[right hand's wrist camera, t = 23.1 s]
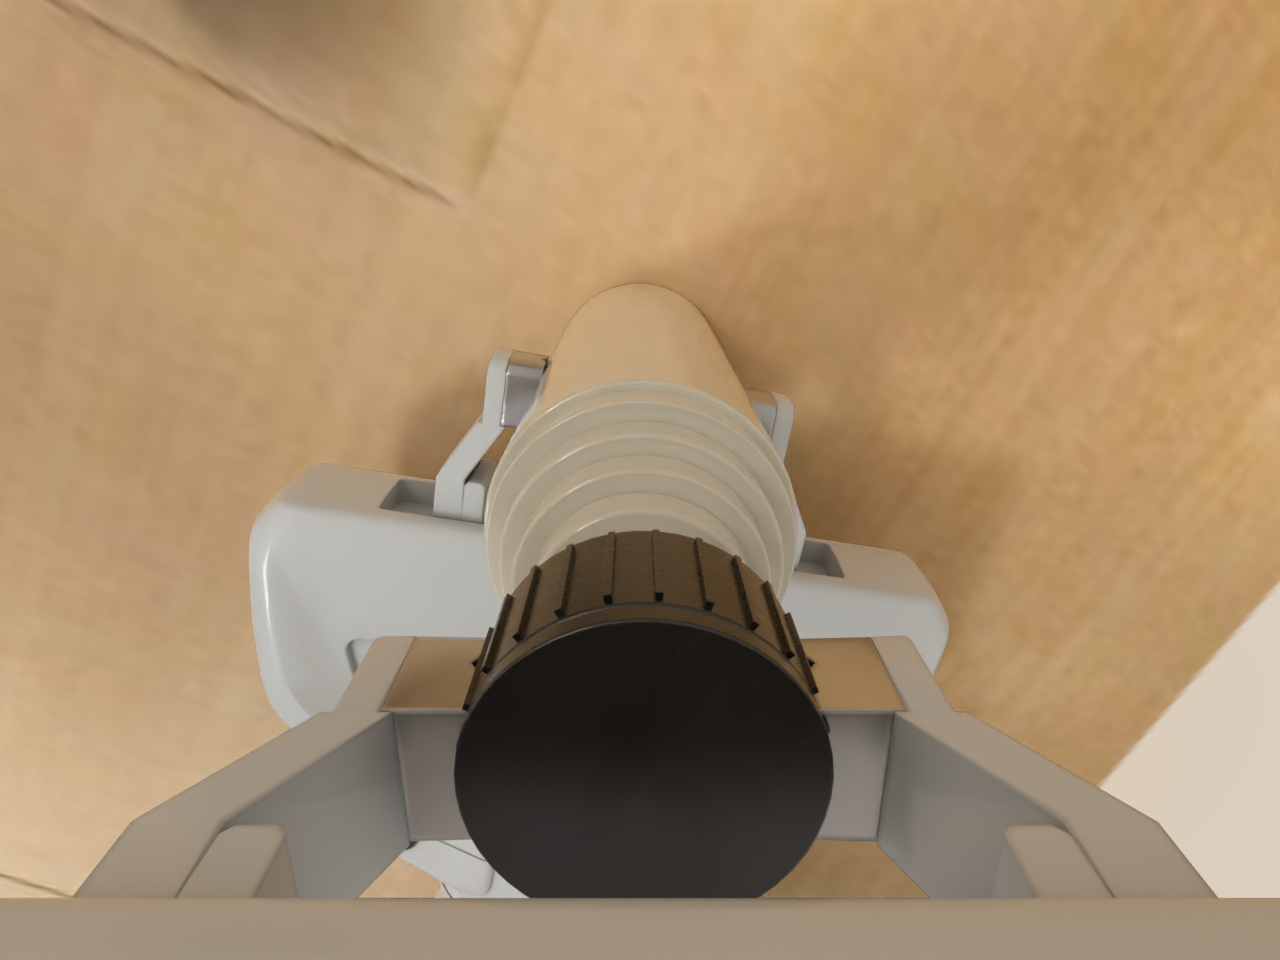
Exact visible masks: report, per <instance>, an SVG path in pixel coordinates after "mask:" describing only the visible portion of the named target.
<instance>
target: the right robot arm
mask: <svg viewBox="0 0 1280 960" xmlns="http://www.w3.org/2000/svg"><path fill="white" fill-rule="evenodd" d="M485 639H486V638H477V637H427V636H420V637H417V636H381V637H378V638H376V639H375V640H374V641H373V642H372V644H371V646H370V647H369V649H368V651H367V653H366V654H365V656H364V658H363V660H362V661H361V663H360V665H359V667H358V668H357V670H356V672H355V674H354V675H353V677H352V679H351V680H350V682H349V684H348V686H347V687H346V689H345V691H344V693H343V694H342V696H341V698H340V700H339V701H338V703H337V705H336V707H335V708H334V710H333V712H320V713H318V714H316V715H314V716H313V717H311V718H309V719H307V720H306V721H304V722H302V723H301V724H299V725H297V726H295V727H294V728H292V729H290V730H288V731H287V732H285V733H283V734H281V735H280V736H278V737H276V738H275V739H273V740H271V741H269V742H268V743H266V744H264V745H262V746H261V747H259V748H257V749H256V750H254V751H252V752H250V753H249V754H247V755H245V756H243V757H242V758H240V759H238V760H237V761H235V762H233V763H231V764H230V765H228V766H226V767H224V768H223V769H221V770H219V771H217V772H216V773H214V774H212V775H211V776H209V777H207V778H205V779H204V780H202V781H200V782H198V783H197V784H195V785H193V786H192V787H190V788H188V789H186V790H185V791H183V792H181V793H179V794H178V795H176V796H174V797H173V798H171V799H169V800H167V801H166V802H164V803H162V804H160V805H159V806H157V807H155V808H154V809H152V810H150V811H148V812H147V813H145V814H143V815H141V816H140V817H138V818H136V819H134V820H133V821H131V823H130V824H129V825H128V827H127V828H126V829H125V830H124V832H123V833H122V834H121V835H120V837H119V838H118V839H117V841H116V842H115V843H114V844H113V846H112V847H111V848H110V850H109V851H108V852H107V853H106V855H105V856H104V857H103V858H102V860H101V861H100V862H99V864H98V865H97V866H96V867H95V869H94V870H93V871H92V872H91V874H90V875H89V876H88V878H87V879H86V880H85V881H84V883H83V884H82V885H81V886H80V888H79V889H78V890H77V892H76V893H75V894H74V895H73V897H72V898H0V960H1280V898H1218V897H1217V896H1216V895H1215V893H1214V892H1213V891H1212V890H1211V888H1210V887H1209V886H1208V885H1207V883H1206V882H1205V881H1204V880H1203V878H1202V877H1201V876H1200V874H1199V873H1198V872H1197V871H1196V869H1195V868H1194V867H1193V866H1192V864H1191V863H1190V862H1189V861H1188V859H1187V858H1186V857H1185V856H1184V854H1183V853H1182V852H1181V850H1180V849H1179V848H1178V847H1177V845H1176V844H1175V843H1174V842H1173V840H1172V839H1171V838H1170V837H1169V835H1168V834H1167V833H1166V832H1165V830H1164V829H1163V828H1162V826H1161V825H1160V824H1159V823H1158V822H1157V821H1155V820H1153V819H1152V818H1150V817H1148V816H1146V815H1145V814H1143V813H1141V812H1139V811H1138V810H1136V809H1134V808H1132V807H1131V806H1129V805H1127V804H1126V803H1124V802H1122V801H1120V800H1119V799H1117V798H1115V797H1113V796H1112V795H1110V794H1108V793H1106V792H1105V791H1103V790H1101V789H1100V788H1098V787H1096V786H1094V785H1093V784H1091V783H1089V782H1087V781H1086V780H1084V779H1082V778H1080V777H1079V776H1077V775H1075V774H1073V773H1072V772H1070V771H1068V770H1066V769H1065V768H1063V767H1061V766H1060V765H1058V764H1056V763H1054V762H1053V761H1051V760H1049V759H1047V758H1046V757H1044V756H1042V755H1040V754H1039V753H1037V752H1035V751H1033V750H1032V749H1030V748H1028V747H1027V746H1025V745H1023V744H1021V743H1020V742H1018V741H1016V740H1014V739H1013V738H1011V737H1009V736H1007V735H1006V734H1004V733H1002V732H1000V731H999V730H997V729H995V728H993V727H992V726H990V725H988V724H987V723H985V722H983V721H981V720H980V719H978V718H976V717H974V716H973V715H971V714H969V713H967V712H954V710H953V709H952V707H951V705H950V704H949V702H948V700H947V699H946V697H945V695H944V694H943V692H942V690H941V689H940V687H939V685H938V683H937V682H936V680H935V678H934V677H933V675H932V673H931V672H930V670H929V668H928V667H927V665H926V663H925V662H924V660H923V658H922V656H921V655H920V653H919V651H918V650H917V648H916V646H915V645H914V643H913V641H912V640H911V639H910V638H909V637H907V636H879V637H850V638H810V639H800V640H801V643H802V645H803V648H804V651H805V654H806V656H807V659H808V662H809V665H810V667H811V670H812V673H813V676H814V678H815V681H816V684H817V687H818V690H819V693H817V694H814V695H815V698H816V701H817V704H818V706H819V709H820V712H821V715H822V718H825V717H826V718H827V721H828V724H829V726H830V733H828V735H829V739H830V744H831V749H832V753H833V766H834V781H833V790H832V797H831V801H830V804H829V808H828V812H827V815H826V818H825V821H824V823H823V825H822V827H821V830H820V832H819V834H818V836H817V838H816V839H815V840H848V841H877V845H878V846H879V847H880V848H881V849H882V850H883V851H884V852H885V853H886V854H887V855H888V856H889V857H890V858H891V859H892V860H893V861H894V862H895V863H896V864H897V865H898V866H899V867H900V868H901V869H902V870H903V871H904V872H905V873H906V874H907V875H908V876H909V877H910V878H911V879H912V880H913V881H914V882H915V883H916V884H917V885H918V886H919V887H920V888H921V889H922V890H923V891H924V892H925V893H926V894H927V895H928V896H929V897H930V898H358V897H359V896H360V895H361V894H362V893H363V892H364V891H365V890H366V889H367V888H368V887H369V886H370V885H371V884H372V883H373V882H374V881H375V880H376V879H377V877H378V876H379V875H380V874H381V873H382V872H383V871H384V870H385V869H386V868H387V867H388V866H389V865H390V864H391V863H392V862H393V861H394V860H395V859H396V858H397V857H398V856H399V855H400V854H401V853H402V852H403V851H404V850H405V849H406V848H407V847H408V846H409V841H438V840H472V839H471V837H470V836H469V834H468V832H467V829H466V827H465V825H464V822H463V820H462V817H461V815H460V811H459V807H458V803H457V799H456V795H455V784H454V763H455V752H456V743H457V740H458V737H459V734H460V732H461V729H462V726H463V723H464V720H465V717H466V714H467V711H465V710H462V707H463V704H464V701H465V698H466V695H467V692H468V689H469V686H470V683H471V680H472V677H473V674H474V671H475V668H476V665H477V662H478V659H479V656H480V653H481V650H482V647H483V645H484V642H485Z"/></svg>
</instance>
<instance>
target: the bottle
mask: <svg viewBox="0 0 1280 960" xmlns="http://www.w3.org/2000/svg"><path fill="white" fill-rule="evenodd" d="M797 521H798V515H797V508H796V500H795V495H794V491H793V487H792V484H791V480H790V477H789V475H788V473H787V470H786V468H785V466H784V464H783V461H782V459H781V457H780V456H779V454H778V452H777V450H776V448H775V446H774V444H773V443H772V441H771V439H770V437H769V435H768V433H767V431H766V430H765V428H764V426H763V424H762V422H761V420H760V418H759V416H758V415H757V413H756V411H755V409H754V407H753V405H752V403H751V402H750V400H749V398H748V396H747V394H746V392H745V390H744V389H743V387H742V385H741V383H740V381H739V379H738V377H737V376H736V374H735V372H734V370H733V368H732V366H731V364H730V362H729V361H728V359H727V357H726V355H725V353H724V351H723V349H722V348H721V346H720V344H719V342H718V340H717V338H716V336H715V335H714V333H713V331H712V329H711V327H710V325H709V324H708V322H707V321H706V319H705V317H704V316H703V315H702V314H701V312H700V311H699V310H698V309H697V308H696V307H695V306H694V305H693V304H692V303H691V302H690V301H688V300H687V299H685V298H684V297H683V296H681V295H679V294H677V293H675V292H673V291H672V290H669V289H666V288H663V287H660V286H655V285H651V284H628V285H622V286H618V287H615V288H612V289H609V290H606V291H604V292H602V293H600V294H598V295H597V296H595V297H594V298H592V299H591V300H589V301H588V302H587V303H586V304H585V305H584V306H583V307H581V309H580V310H579V311H578V312H577V313H576V314H575V316H574V317H573V319H572V320H571V322H570V323H569V325H568V327H567V329H566V331H565V333H564V335H563V337H562V339H561V341H560V343H559V344H558V346H557V348H556V350H555V352H554V354H553V356H552V358H551V360H550V362H549V364H548V366H547V368H546V370H545V372H544V374H543V376H542V378H541V380H540V382H539V384H538V386H537V388H536V390H535V392H534V394H533V396H532V398H531V400H530V402H529V404H528V406H527V408H526V410H525V412H524V414H523V416H522V418H521V420H520V422H519V424H518V426H517V428H516V430H515V432H514V434H513V436H512V437H511V439H510V441H509V443H508V445H507V447H506V449H505V451H504V453H503V455H502V457H501V459H500V461H499V464H498V466H497V468H496V470H495V472H494V474H493V477H492V480H491V483H490V487H489V490H488V493H487V499H486V505H485V511H484V535H485V543H486V557H487V565H488V570H489V574H490V577H491V581H492V585H493V587H494V590H495V592H496V594H497V597H498V599H499V601H500V603H501V605H502V603H503V600H504V597H505V596H506V595H507V593H508V594H510V595H511V594H512V593H513V592H514V591H515V589H516V588H517V587H518V586H519V584H520V583H521V582H522V581H523V580H524V579H525V578H526V577H527V576H528V575H529V574H530V570H531V568H532V567H533V566H534V565H537V566H539V565H541V564H542V563H543V562H545V561H546V560H548V559H549V558H551V557H552V556H553V555H555V554H557V553H559V552H561V551H563V550H565V549H566V546H567V545H569V544H572V543H573V545H575V544H578V543H580V542H583V541H586V540H588V539H591V538H595V537H599V536H603V535H607V534H608V532H613V531H615V533H619V532H628V531H652V530H653V529H656V530H660V532H667V533H674V534H679V535H683V536H687V537H691V538H696V537H698V538H701V539H703V542H706V543H708V544H711V545H713V546H716V547H718V548H720V549H722V550H723V551H725V552H727V553H729V554H731V555H732V556H735V555H737V556H739V557H741V560H742V563H744V564H745V565H747V566H748V567H749V568H751V569H752V570H753V571H754V572H755V573H756V574H757V575H758V576H759V577H760V578H761V579H762V580H763V581H764V582H766V581H767V580H768V581H769V582H770V583H771V585H772V588H773V591H774V594H775V596H776V598H777V599H778V601H779V603H780V605H781V602H782V600H783V598H784V596H785V594H786V592H787V590H788V587H789V583H790V580H791V577H792V574H793V570H794V564H795V557H796V540H797Z"/></svg>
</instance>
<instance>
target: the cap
mask: <svg viewBox="0 0 1280 960" xmlns="http://www.w3.org/2000/svg"><path fill="white" fill-rule="evenodd" d="M817 693H819V690H818V687H817V684H816V681H815V678H814V676H813V673H812V670H811V667H810V665H809V662H808V659H807V656H806V654H805V651H804V648H803V645H802V643H801V640H800V637H799V634H798V632H797V629H796V626H795V623H794V621H793V618H792V616H791V613H790V612H789V613H786V614H785V612H784V610H783V608H782V606H781V605H780V603H779V601H778V599H777V598H776V596H775V594H774V591H773V588H772V585H771V583H770V582H769V581H768V580H767V581H766V582H764V581H763V580H762V579H761V578H760V577H759V576H758V575H757V574H756V573H755V572H754V571H753V570H752V569H751V568H749V567H748V566H747V565H745V564H744V563H742V560H741V557H739V556H737V555H735V556H732V555H731V554H729V553H727V552H725V551H723V550H722V549H720V548H718V547H716V546H713V545H711V544H708V543H706V542H703V539H701V538H698V537H696V538H691V537H687V536H683V535H679V534H674V533H667V532H660V530H656V529H653V530H652V531H628V532H619V533H615V531H613V532H608V534H607V535H603V536H599V537H595V538H591V539H588V540H586V541H583V542H580V543H578V544H575V545H573V543H572V544H569V545H567V546H566V549H565V550H563V551H561V552H559V553H557V554H555V555H553V556H552V557H551V558H549V559H548V560H546V561H545V562H543V563H542V564H541V565H539V566H537V565H534V566H533V567H532V568H531V570H530V574H529V575H528V576H527V577H526V578H525V579H524V580H523V581H522V582H521V583H520V584H519V586H518V587H517V588H516V589H515V591H514V592H513V593H512V594H511V595H510V594H508V593H507V595H506V596H505V597H504V600H503V603H502V606H501V609H500V612H499V615H498V618H497V622H496V625H495V628H492V627H489V630H488V633H487V636H486V639H485V642H484V645H483V647H482V650H481V653H480V656H479V659H478V662H477V665H476V668H475V671H474V674H473V677H472V680H471V683H470V686H469V689H468V692H467V695H466V698H465V701H464V704H463V707H462V710H465V711H467V714H466V717H465V720H464V723H463V726H462V729H461V732H460V734H459V737H458V740H457V743H456V752H455V763H454V784H455V795H456V799H457V803H458V807H459V811H460V815H461V817H462V820H463V822H464V825H465V827H466V829H467V832H468V834H469V836H470V837H471V839H472V841H473V843H474V844H475V846H476V848H477V849H478V851H479V852H480V854H481V855H482V856H483V857H484V858H485V860H486V861H487V862H488V863H489V865H490V866H491V867H492V868H493V869H494V870H495V871H496V872H497V873H498V874H499V875H500V876H501V877H502V878H503V879H504V880H505V881H506V882H507V883H509V884H510V885H511V886H513V887H514V888H515V889H517V890H518V891H520V892H521V893H522V894H524V895H525V896H527V897H528V898H758V897H760V896H761V895H763V894H764V893H765V892H767V891H768V890H770V889H771V888H772V887H774V886H775V885H777V884H778V883H779V882H780V881H781V880H782V879H783V878H784V877H786V876H787V875H788V874H789V873H790V872H791V871H792V870H793V869H794V868H795V867H796V865H797V864H798V863H799V862H800V861H801V860H802V858H803V857H804V856H805V855H806V854H807V852H808V850H809V849H810V847H811V846H812V844H813V843H814V841H815V839H816V838H817V836H818V834H819V832H820V830H821V827H822V825H823V823H824V821H825V818H826V815H827V812H828V808H829V804H830V801H831V797H832V790H833V781H834V766H833V753H832V749H831V744H830V739H829V735H828V733H830V726H829V724H828V721H827V718H826V717H825V718H822V715H821V712H820V709H819V706H818V704H817V701H816V698H815V695H814V694H817Z"/></svg>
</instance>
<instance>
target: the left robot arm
mask: <svg viewBox="0 0 1280 960" xmlns="http://www.w3.org/2000/svg"><path fill="white" fill-rule="evenodd" d="M548 364H549V356H544V355H539V354H533V353H528V352H522V351H516V350H513V349H505V348H497V349H496V350H495V351H494V353H493V354H492V355H491V359H490V363H489V367H488V371H487V380H486V389H485V399H484V409H483V413H482V414H481V415H480V416H479V418H478V419H477V420H476V422H475V423H474V424H473V425H472V427H471V428H470V429H469V431H468V432H467V433H466V435H465V436H464V437H463V438H462V440H461V441H460V442H459V444H458V445H457V446H456V447H455V449H454V450H453V451H452V453H451V454H450V456H449V457H448V459H447V460H446V462H445V463H444V465H443V466H442V468H441V469H440V471H439V472H438V474H437V475H436V480H431V479H425V478H418V477H412V476H405V475H399V474H392V473H386V472H379V471H373V470H366V469H360V468H353V467H347V466H341V465H334V464H317V465H314V466H312V467H310V468H308V469H307V470H306V471H304V472H303V473H302V474H301V475H299V476H298V477H297V478H295V479H294V480H293V481H291V482H290V483H289V484H287V485H286V486H285V487H284V488H282V489H281V490H280V491H279V492H278V493H277V494H276V495H275V496H274V497H273V498H272V499H271V500H270V501H269V502H268V503H267V504H266V506H265V507H264V508H263V509H262V510H261V512H260V513H259V514H258V516H257V518H256V520H255V522H254V524H253V526H252V529H251V533H250V538H249V585H250V601H251V612H252V621H253V630H254V638H255V645H256V651H257V658H258V664H259V669H260V675H261V679H262V683H263V687H264V690H265V692H266V695H267V698H268V700H269V702H270V704H271V706H272V708H273V709H274V711H275V713H276V714H277V715H278V717H279V718H280V719H281V720H282V722H283V723H284V724H285V725H287V726H288V727H289V728H290V729H292V728H294V727H295V726H297V725H299V724H301V723H302V722H304V721H306V720H307V719H309V718H311V717H313V716H314V715H316V714H318V713H320V712H333V710H334V708H335V707H336V705H337V703H338V701H339V700H340V698H341V696H342V694H343V693H344V691H345V689H346V687H347V686H348V684H349V682H350V680H351V679H352V677H353V675H354V674H355V672H356V670H357V668H358V667H359V665H360V663H361V661H362V660H363V658H364V656H365V654H366V653H367V651H368V649H369V647H370V646H371V644H372V642H373V641H374V640H375V639H376V638H378V637H381V636H417V637H420V636H427V637H477V638H486V636H487V633H488V630H489V627H492V628H495V625H496V622H497V618H498V615H499V612H500V609H501V606H502V605H501V603H500V601H499V599H498V597H497V594H496V592H495V590H494V587H493V585H492V581H491V577H490V574H489V570H488V565H487V557H486V543H485V535H484V511H485V505H486V499H487V493H488V490H489V487H490V483H491V480H492V477H493V474H494V472H495V470H496V468H497V462H496V460H495V459H492V458H486V457H483V456H484V455H485V453H486V452H487V451H488V449H489V448H490V447H491V446H492V444H493V443H494V442H495V440H496V439H497V438H498V437H499V435H500V434H501V433H502V431H503V430H504V429H505V427H506V426H508V427H515V428H517V426H518V424H519V422H520V420H521V418H522V416H523V414H524V412H525V410H526V408H527V406H528V404H529V402H530V400H531V398H532V396H533V394H534V392H535V390H536V388H537V386H538V384H539V382H540V380H541V378H542V376H543V374H544V372H545V370H546V368H547V366H548ZM743 389H744V390H745V392H746V394H747V396H748V398H749V400H750V402H751V403H752V405H753V407H754V409H755V411H756V413H757V415H758V416H759V418H760V420H761V422H762V424H763V426H764V428H765V430H766V431H767V433H768V435H769V437H770V439H771V441H772V443H773V444H774V446H775V448H776V450H777V452H778V454H779V456H780V457H781V459H782V461H783V463H784V459H785V455H786V451H787V446H788V442H789V438H790V434H791V430H792V426H793V422H794V404H793V402H792V401H791V399H790V397H789V396H788V395H787V394H781V393H774V392H769V391H762V390H755V389H749V388H743ZM795 500H796V499H795ZM796 508H797V515H798V521H797V540H796V557H795V564H794V570H793V574H792V577H791V580H790V583H789V587H788V590H787V592H786V594H785V596H784V598H783V600H782V602H781V606H782V608H783V610H784V612H785V614H786V613H789V612H790V613H791V616H792V618H793V621H794V623H795V626H796V629H797V632H798V634H799V637H800V639H810V638H850V637H879V636H907V637H909V638H910V639H911V640H912V641H913V643H914V645H915V646H916V648H917V650H918V651H919V653H920V655H921V656H922V658H923V660H924V662H925V663H926V665H927V667H928V668H929V670H930V672H931V673H932V675H934V673H935V671H936V668H937V666H938V664H939V661H940V659H941V657H942V655H943V652H944V649H945V647H946V644H947V641H948V636H949V622H948V618H947V615H946V612H945V610H944V608H943V606H942V603H941V602H940V600H939V598H938V596H937V594H936V593H935V591H934V589H933V587H932V586H931V584H930V583H929V581H928V580H927V579H926V577H925V576H924V575H923V573H922V572H921V571H920V570H919V568H918V567H917V566H916V564H915V563H914V562H913V561H912V560H911V559H910V558H909V557H908V556H907V555H906V554H904V553H902V552H899V551H895V550H890V549H883V548H876V547H870V546H863V545H857V544H850V543H844V542H837V541H831V540H824V539H818V538H811V537H806V534H807V533H806V530H805V527H804V524H803V521H802V518H801V515H800V512H799V509H798V506H797V503H796ZM397 858H399V859H401V860H403V861H405V862H407V863H409V864H411V865H413V866H415V867H417V868H419V869H420V870H422V871H424V872H426V873H427V874H429V875H431V876H432V877H434V878H436V879H437V880H439V883H440V888H439V889H438V891H437V893H436V895H435V898H528V897H527V896H525V895H524V894H522V893H521V892H520V891H518V890H517V889H515V888H514V887H513V886H511V885H510V884H509V883H507V882H506V881H505V880H504V879H503V878H502V877H501V876H500V875H499V874H498V873H497V872H496V871H495V870H494V869H493V868H492V867H491V866H490V865H489V863H488V862H487V861H486V860H485V858H484V857H483V856H482V855H481V854H480V852H479V851H478V849H477V848H476V846H475V844H474V843H473V841H472V840H438V841H409V846H408V847H407V848H406V849H405V850H404V851H403V852H402V853H401V854H400V855H399V856H398V857H397Z"/></svg>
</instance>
